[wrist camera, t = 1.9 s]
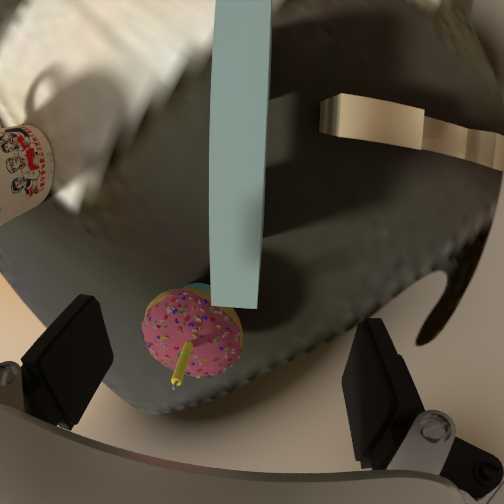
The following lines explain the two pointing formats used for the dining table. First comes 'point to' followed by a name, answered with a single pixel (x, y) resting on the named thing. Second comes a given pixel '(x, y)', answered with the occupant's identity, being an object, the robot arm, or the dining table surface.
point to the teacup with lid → (23, 170)
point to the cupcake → (192, 332)
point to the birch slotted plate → (407, 129)
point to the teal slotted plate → (238, 148)
